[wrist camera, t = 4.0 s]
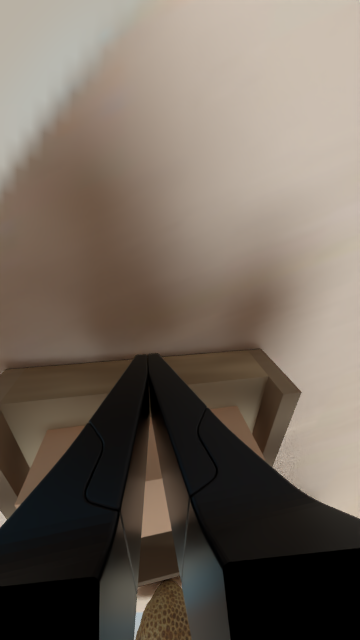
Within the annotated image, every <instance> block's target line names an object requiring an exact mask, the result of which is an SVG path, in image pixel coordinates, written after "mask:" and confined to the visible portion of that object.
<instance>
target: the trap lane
mask: <svg viewBox="0 0 360 640" xmlns="http://www.w3.org/2000/svg"><path fill="white" fill-rule="evenodd" d="M162 358H163V359H164V360H165V361H166V362H167V363H168V365H169V366H170V367H171V368H172V369H173V370H174V371H175V372H176V373H177V374H178V375H179V376H180V378H181V379H182V380H183V381H184V382H185V383H186V384H187V385H188V386H189V387H190V388H191V389H192V391H193V392H194V393H195V394H196V395H197V396H198V397H199V398H200V399H201V400H202V401H203V402H204V404H205V405H206V406H207V408H209V409H216V408H223V407H231V406H238V408H239V410H240V412H241V414H242V416H243V418H244V420H245V422H246V424H247V425H248V427H249V429H250V431H251V433H252V435H253V437H254V439H255V441H256V443H257V445H258V447H259V449H260V450H261V452H262V454H263V456H264V458H265V462H267V463H268V464H269V465H270V466H271V467H272V466H273V464H274V461H275V459H276V456H277V453H278V451H279V448H280V446H281V443H282V441H283V438H284V435H285V433H286V430H287V428H288V425H289V423H290V420H291V418H292V415H293V412H294V410H295V407H296V405H297V402H298V400H299V397H300V394H301V391H300V390H299V389H298V388H297V387H296V386H295V385H294V384H293V382H292V381H291V380H290V379H289V378H288V377H287V376H286V375H285V374H284V373H283V372H282V371H281V370H280V368H279V367H278V366H277V365H276V364H275V363H274V362H273V361H272V360H271V359H270V358H269V357H268V356H267V355H266V353H265V352H264V351H263V350H262V349H256V350H244V351H231V352H219V353H206V354H194V355H181V356H169V357H162ZM147 359H148V358H147ZM132 360H133V359H131V360H119V361H106V362H94V363H81V364H69V365H56V366H44V367H31V368H19V369H7V370H5V371H4V372H3V373H2V374H1V375H0V511H1V512H2V513H3V515H4V516H5V517H6V519H8V518H9V517H10V516H11V515H12V514H13V513H14V511H15V510H16V507H15V506H14V505H15V502H16V500H17V498H18V496H19V493H20V491H21V489H22V486H23V484H24V482H25V480H26V477H27V475H28V473H29V470H30V468H31V466H32V464H33V461H34V459H35V457H36V454H37V452H38V450H39V448H40V445H41V443H42V441H43V438H44V436H45V434H46V432H47V430H52V429H60V428H68V427H75V426H83V425H86V424H87V423H89V420H90V419H91V417H92V416H93V414H94V413H95V412H96V410H97V409H98V407H99V406H100V405H101V403H102V402H103V401H104V399H105V398H106V396H107V395H108V394H109V392H110V391H111V389H112V388H113V387H114V385H115V384H116V382H117V381H118V380H119V378H120V377H121V376H122V374H123V373H124V371H125V370H126V369H127V367H128V366H129V364H130V363H131V362H132ZM149 398H150V396H149ZM150 417H151V412H150ZM177 576H180V573H179V567H178V562H177V556H176V551H175V545H174V540H173V534H172V531H168V532H164V533H160V534H155V535H151V536H146V537H142V538H141V547H140V561H139V574H138V587H139V586H143V585H147V584H150V583H154V582H158V581H162V580H166V579H169V578H173V577H177Z"/></svg>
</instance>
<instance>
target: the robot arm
mask: <svg viewBox="0 0 360 640" xmlns="http://www.w3.org/2000/svg"><path fill="white" fill-rule="evenodd" d="M149 396H150V398H149ZM150 412H151V419H152V425H153V430H154V436H155V441H156V447H157V452H158V458H159V463H160V469H161V474H162V480H163V485H164V490H165V496H166V501H167V507H168V512H169V518H170V523H171V529H172V534H173V540H174V545H175V551H176V556H177V562H178V567H179V573H180V578H181V582H182V590H183V595H184V601H185V606H186V611H187V617H188V622H189V628H190V633H191V639H192V640H360V519H359V518H357V517H354V516H352V515H350V514H347V513H345V512H342V511H340V510H338V509H335V508H333V507H330V506H328V505H326V504H323V503H321V502H319V501H317V500H315V499H314V498H312V497H310V496H308V495H307V494H305V493H304V492H302V491H301V490H299V489H298V488H296V487H295V486H294V485H292V484H291V483H290V482H289V481H287V480H286V479H285V478H284V477H283V476H282V475H280V474H279V473H278V472H277V471H276V470H275V469H273V468H272V467H271V466H270V465H269V464H268V463H267V462H265V461H264V460H263V459H262V458H261V457H260V456H259V455H257V454H256V453H255V452H254V451H253V450H252V449H251V448H249V447H248V446H247V445H246V444H245V443H244V442H243V441H241V440H240V439H239V438H238V437H237V436H236V435H235V434H234V433H233V432H232V431H231V430H229V429H228V428H227V427H226V426H225V425H224V424H223V423H222V422H221V421H220V419H219V418H218V417H217V416H216V415H215V414H214V413H213V412H212V411H211V410H210V409H209V408H207V406H206V405H205V404H204V402H203V401H202V400H201V399H200V398H199V397H198V396H197V395H196V394H195V393H194V392H193V391H192V389H191V388H190V387H189V386H188V385H187V384H186V383H185V382H184V381H183V380H182V379H181V378H180V376H179V375H178V374H177V373H176V372H175V371H174V370H173V369H172V368H171V367H170V366H169V365H168V363H167V362H166V361H165V360H164V359H163V358H162V357H161V356H160V355H159V354H158V353H155V354H148V359H147V355H146V354H142V355H136V356H135V357H134V359H133V360H132V362H131V363H130V364H129V366H128V367H127V369H126V370H125V371H124V373H123V374H122V376H121V377H120V378H119V380H118V381H117V382H116V384H115V385H114V387H113V388H112V389H111V391H110V392H109V394H108V395H107V396H106V398H105V399H104V401H103V402H102V403H101V405H100V406H99V407H98V409H97V410H96V412H95V413H94V414H93V416H92V417H91V419H90V420H89V423H87V424H86V425H85V427H84V428H83V430H82V431H81V432H80V434H79V435H78V436H77V438H76V439H75V440H74V442H73V443H72V444H71V446H70V447H69V448H68V449H67V451H66V452H65V453H64V454H63V456H62V457H61V458H60V459H59V460H58V462H57V463H56V464H55V465H54V466H53V468H52V469H51V470H50V471H49V472H48V474H47V475H46V476H45V477H44V478H43V479H42V480H41V482H40V483H39V484H38V485H37V486H36V487H35V488H34V490H33V491H32V492H31V493H30V494H29V495H28V496H27V498H26V499H25V500H24V501H23V502H22V503H21V505H20V506H19V507H18V508H17V509H16V510H15V511H14V513H13V514H12V515H11V516H10V517H9V518H8V519H7V521H6V522H5V523H4V524H3V525H2V526H1V527H0V640H134V629H135V615H136V602H137V596H136V594H137V588H138V574H139V561H140V547H141V533H142V520H143V506H144V492H145V479H146V465H147V451H148V438H149V424H150Z"/></svg>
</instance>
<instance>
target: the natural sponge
mask: <svg viewBox="0 0 360 640" xmlns="http://www.w3.org/2000/svg"><path fill="white" fill-rule="evenodd" d="M136 640H192V639H191V633H190V628H189V622H188V617H187V611H186V606H185V601H184V595H183V590H182V588H181V587H180V586H179V585H178V584H177V583H175V582H174V581H171V580H167V581H164V582H163V583H162V584H161V585H160V586H159V587H158V588H157V590H156V591H155V593H154V595H153V597H152V598H151V600H150V601H149V602H148V604H147V606H146V608H145V610H144V612H143V615H142V619H141V624H140V626H139V629H138V631H137V635H136Z"/></svg>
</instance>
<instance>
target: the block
mask: <svg viewBox="0 0 360 640" xmlns="http://www.w3.org/2000/svg"><path fill="white" fill-rule="evenodd" d="M210 410H211V411H212V412H213V413H214V414H215V415H216V416H217V417H218V418H219V419H220V421H221V422H222V423H223V424H224V425H225V426H226V427H227V428H228V429H229V430H231V431H232V432H233V433H234V434H235V435H236V436H237V437H238V438H239V439H240V440H241V441H243V442H244V443H245V444H246V445H247V446H248V447H249V448H251V449H252V450H253V451H254V452H255V453H256V454H257V455H259V456H260V457H261V458H262V459H263V460H264V461H265V458H264V456H263V454H262V452H261V450H260V449H259V447H258V445H257V443H256V441H255V439H254V437H253V435H252V433H251V431H250V429H249V427H248V425H247V424H246V422H245V420H244V418H243V416H242V414H241V412H240V410H239V408H238V406H231V407H223V408H216V409H210ZM84 427H85V425H83V426H75V427H68V428H60V429H52V430H47V432H46V434H45V436H44V438H43V441H42V443H41V445H40V448H39V450H38V452H37V454H36V457H35V459H34V461H33V464H32V466H31V468H30V470H29V473H28V475H27V477H26V480H25V482H24V484H23V486H22V489H21V491H20V493H19V496H18V498H17V500H16V502H15V505H14V506H15V507H16V509H17V508H18V507H19V506H20V505H21V503H22V502H23V501H24V500H25V499H26V498H27V496H28V495H29V494H30V493H31V492H32V491H33V490H34V488H35V487H36V486H37V485H38V484H39V483H40V482H41V480H42V479H43V478H44V477H45V476H46V475H47V474H48V472H49V471H50V470H51V469H52V468H53V466H54V465H55V464H56V463H57V462H58V460H59V459H60V458H61V457H62V456H63V454H64V453H65V452H66V451H67V449H68V448H69V447H70V446H71V444H72V443H73V442H74V440H75V439H76V438H77V436H78V435H79V434H80V432H81V431H82V430H83V428H84ZM168 531H172V529H171V523H170V518H169V512H168V507H167V501H166V496H165V490H164V485H163V480H162V474H161V469H160V463H159V458H158V452H157V447H156V441H155V436H154V430H153V425H152V419H151V417H150V424H149V438H148V451H147V465H146V479H145V492H144V506H143V520H142V533H141V538H142V537H146V536H151V535H155V534H160V533H164V532H168Z"/></svg>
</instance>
